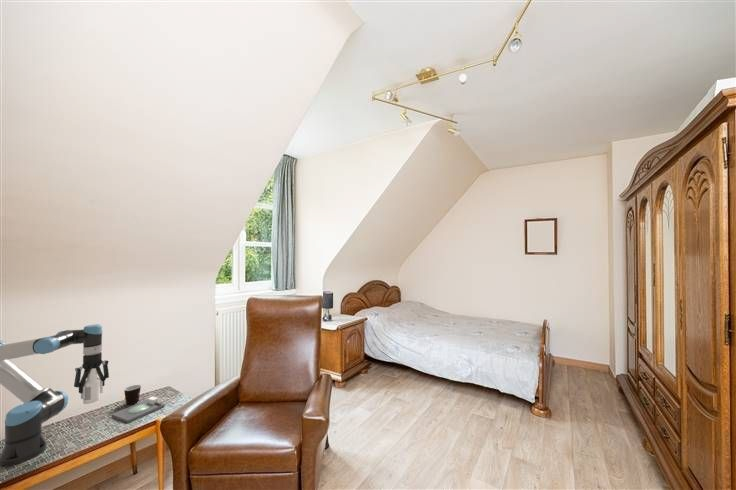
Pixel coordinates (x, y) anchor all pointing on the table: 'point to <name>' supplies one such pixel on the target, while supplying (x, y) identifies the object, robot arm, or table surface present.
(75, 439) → the table surface
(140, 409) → the charging dock
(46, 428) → the table surface
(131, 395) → the coffee mug
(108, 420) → the table surface
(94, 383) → the spray bottle
